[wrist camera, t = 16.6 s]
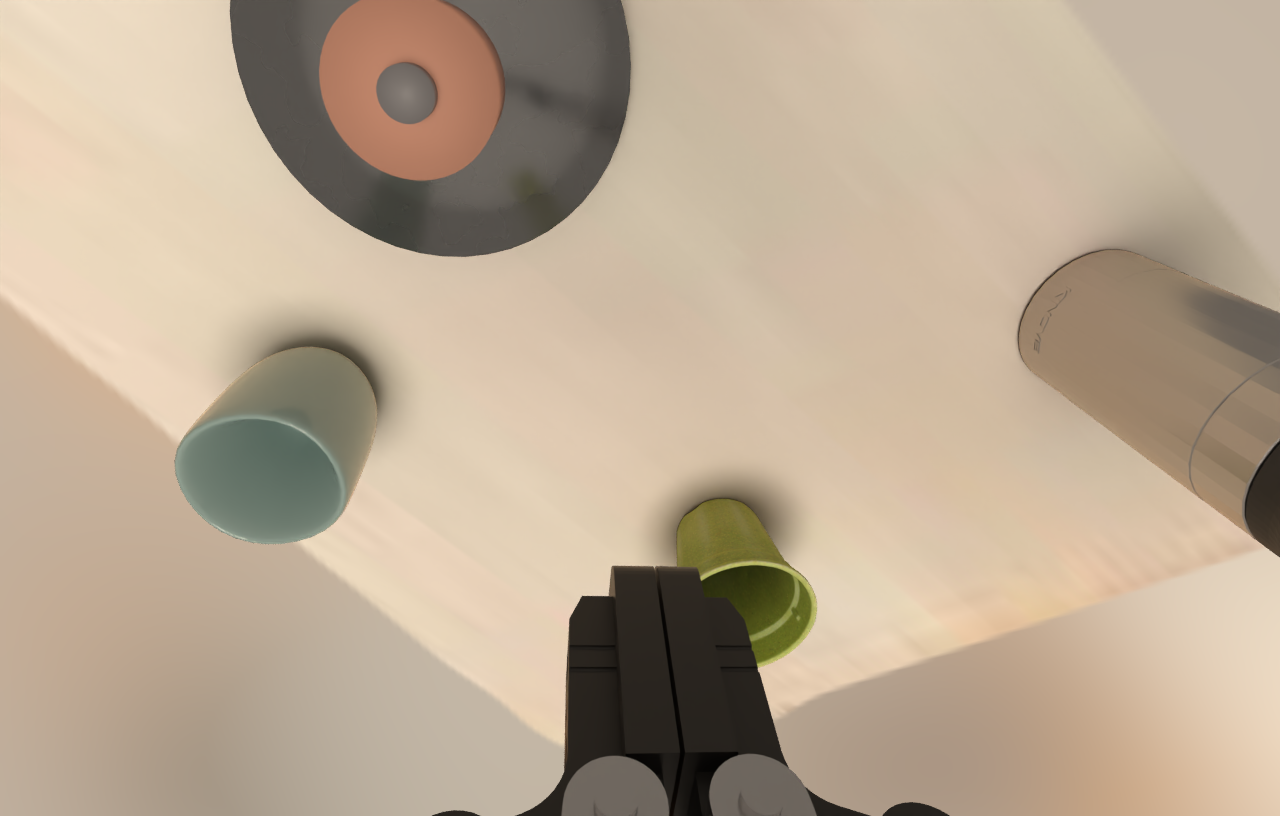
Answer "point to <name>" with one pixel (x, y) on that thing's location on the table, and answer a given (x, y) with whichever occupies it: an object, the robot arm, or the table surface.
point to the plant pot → (748, 575)
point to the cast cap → (412, 85)
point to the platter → (514, 154)
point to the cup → (280, 447)
